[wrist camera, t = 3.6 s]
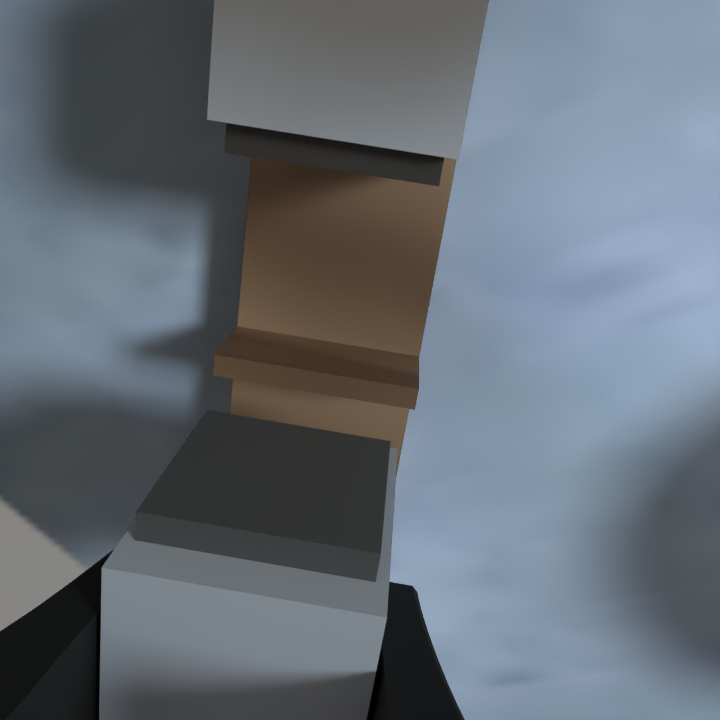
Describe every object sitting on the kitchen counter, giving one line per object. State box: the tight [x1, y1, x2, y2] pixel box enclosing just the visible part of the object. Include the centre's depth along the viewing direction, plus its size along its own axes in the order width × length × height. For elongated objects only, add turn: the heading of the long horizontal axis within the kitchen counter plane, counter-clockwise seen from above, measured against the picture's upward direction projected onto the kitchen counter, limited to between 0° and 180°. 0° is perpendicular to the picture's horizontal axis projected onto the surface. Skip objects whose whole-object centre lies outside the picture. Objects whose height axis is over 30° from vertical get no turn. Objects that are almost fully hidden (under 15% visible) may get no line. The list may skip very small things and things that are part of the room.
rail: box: [207, 0, 489, 475], centre depth 15 cm, size 16×4×6 cm, turn 172°
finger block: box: [99, 410, 398, 720], centre depth 12 cm, size 4×4×5 cm
